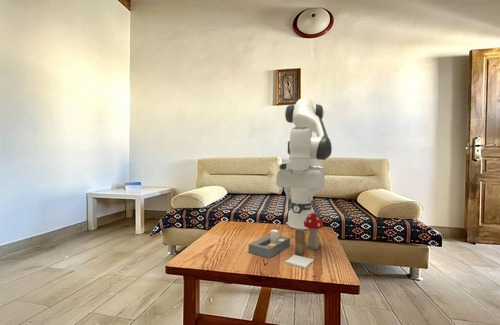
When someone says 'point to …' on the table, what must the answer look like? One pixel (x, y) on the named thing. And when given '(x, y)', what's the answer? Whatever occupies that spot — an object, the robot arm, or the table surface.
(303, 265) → the pad
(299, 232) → the brown wooden beam
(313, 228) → the decorative mushroom
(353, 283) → the table surface
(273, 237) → the switch tab
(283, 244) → the switch panel
